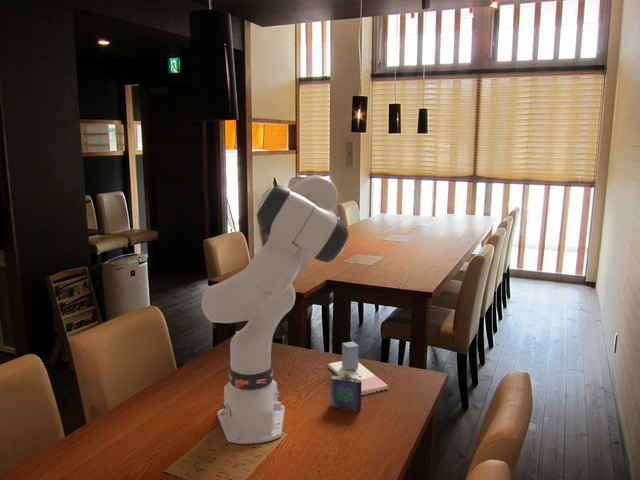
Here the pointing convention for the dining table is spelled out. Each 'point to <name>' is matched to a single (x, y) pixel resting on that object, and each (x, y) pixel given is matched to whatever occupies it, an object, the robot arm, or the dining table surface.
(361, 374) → the board
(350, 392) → the flask
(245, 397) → the robot arm
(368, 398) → the dining table surface
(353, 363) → the grey rectangular block
